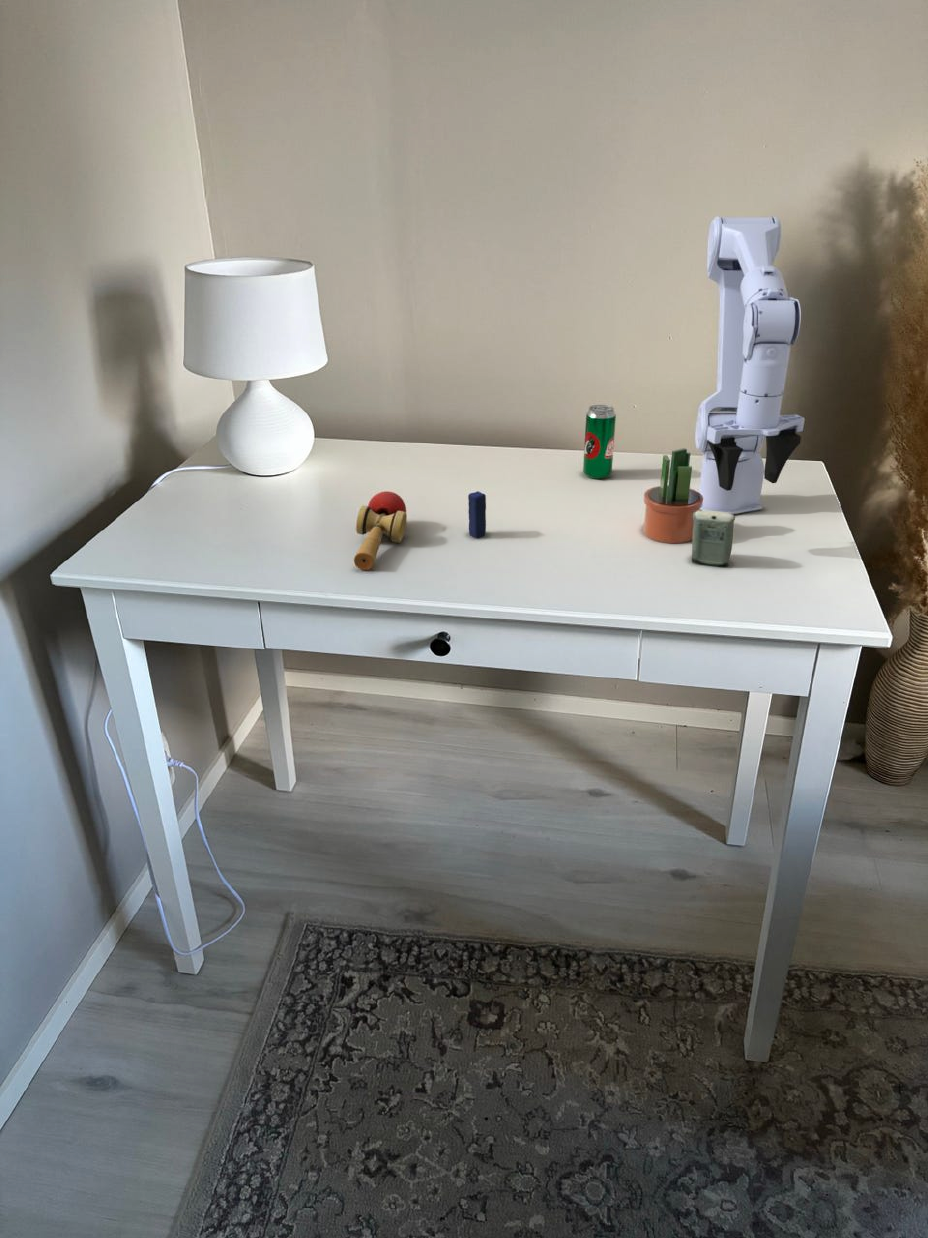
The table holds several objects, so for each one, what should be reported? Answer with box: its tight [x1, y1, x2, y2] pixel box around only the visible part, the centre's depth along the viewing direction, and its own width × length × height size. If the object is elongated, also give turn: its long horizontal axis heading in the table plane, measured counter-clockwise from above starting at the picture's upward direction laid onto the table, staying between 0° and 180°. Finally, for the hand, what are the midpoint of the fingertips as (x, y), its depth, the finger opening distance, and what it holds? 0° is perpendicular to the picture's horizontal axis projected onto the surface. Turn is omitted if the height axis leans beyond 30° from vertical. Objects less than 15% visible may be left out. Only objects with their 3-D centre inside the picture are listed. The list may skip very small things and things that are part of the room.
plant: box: [642, 447, 703, 544], centre depth 147 cm, size 9×9×13 cm
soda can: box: [582, 404, 617, 480], centre depth 169 cm, size 5×5×12 cm
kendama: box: [353, 490, 407, 571], centre depth 146 cm, size 8×6×18 cm
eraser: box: [467, 491, 487, 539], centre depth 148 cm, size 2×2×7 cm
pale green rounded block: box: [691, 510, 736, 568], centre depth 139 cm, size 6×5×8 cm
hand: (747, 484), depth 140 cm, fingers open, 7 cm apart
